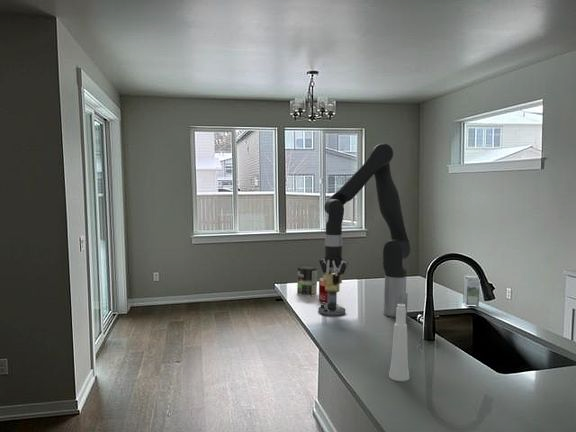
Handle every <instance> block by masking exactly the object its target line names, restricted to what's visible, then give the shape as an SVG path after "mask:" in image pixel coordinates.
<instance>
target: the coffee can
mask: <svg viewBox="0 0 576 432" xmlns="http://www.w3.org/2000/svg"><path fill="white" fill-rule="evenodd" d="M296 287H297V290H296V291H297V292H296V294H297V295H298V296H303V297H313V296H312V295H315V296H317V295H316V294H318V266H316V265H308V264H307V265H306V264H303V265H298V266H297V286H296Z"/></svg>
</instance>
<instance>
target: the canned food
mask: <svg viewBox="0 0 576 432" xmlns="http://www.w3.org/2000/svg"><path fill="white" fill-rule="evenodd" d="M320 280H323V277H320V278H319V279H318V301H319V303H322V302H325V303H324V304H327V301H328V292H326V291H325V286H322V285H320Z"/></svg>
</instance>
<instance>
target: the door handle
mask: <svg viewBox="0 0 576 432" xmlns="http://www.w3.org/2000/svg"><path fill="white" fill-rule="evenodd" d="M335 276H336V275H335V272H331V273H330V274H326V273H324V274H322V278H323V280H320V285H322V286H325V291H326V292H337V293H338V292H340V284H342V283H343V281H342V280H343V274H342V275H340V282H339V284H335Z"/></svg>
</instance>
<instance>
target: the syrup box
mask: <svg viewBox="0 0 576 432" xmlns="http://www.w3.org/2000/svg"><path fill="white" fill-rule="evenodd" d="M478 276H479V275H477V274H464V276H463V277H464V279H463V296H462V297H463V298H462V304H463V303H465V304H466V305H476V306H479V303H480V288H481V287H480V285H481V281H480V282H479V279H478Z"/></svg>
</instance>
